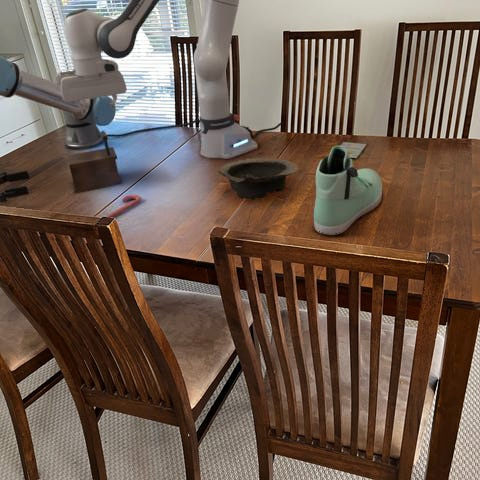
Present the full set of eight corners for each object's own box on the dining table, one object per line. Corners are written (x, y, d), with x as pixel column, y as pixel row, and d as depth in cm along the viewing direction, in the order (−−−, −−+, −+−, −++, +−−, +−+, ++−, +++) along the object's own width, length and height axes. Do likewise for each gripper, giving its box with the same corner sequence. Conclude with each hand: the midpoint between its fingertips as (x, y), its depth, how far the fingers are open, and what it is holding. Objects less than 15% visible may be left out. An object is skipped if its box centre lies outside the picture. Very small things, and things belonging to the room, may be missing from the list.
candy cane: (96, 216, 146) (95, 211, 145) (131, 196, 156) (131, 192, 155) (109, 220, 143) (108, 216, 142) (145, 200, 153) (144, 196, 152)
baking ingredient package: (332, 154, 173) (343, 141, 184) (332, 155, 173) (343, 142, 184) (356, 157, 169) (366, 143, 180) (356, 158, 169) (366, 144, 181)
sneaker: (389, 187, 148) (396, 123, 138) (356, 242, 123) (361, 168, 112) (346, 181, 154) (350, 119, 144) (306, 232, 129) (307, 161, 118)
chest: (116, 173, 173) (111, 150, 169) (120, 183, 166) (115, 159, 161) (74, 182, 169) (68, 158, 165) (76, 192, 162) (69, 168, 157)
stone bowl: (243, 213, 140) (240, 183, 136) (209, 189, 160) (205, 162, 156) (313, 190, 149) (312, 161, 144) (272, 170, 169) (270, 144, 165)
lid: (113, 150, 169) (108, 128, 165) (117, 159, 161) (112, 136, 157) (68, 158, 165) (61, 136, 161) (69, 168, 157) (63, 145, 153)
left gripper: (-34, 191, 165) (31, 178, 171) (-43, 222, 145) (30, 207, 151) (-42, 170, 161) (25, 158, 167) (-53, 200, 141) (23, 185, 147)
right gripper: (54, 73, 144) (66, 119, 151) (122, 64, 149) (131, 108, 157) (54, 70, 149) (65, 114, 156) (119, 60, 155) (127, 103, 162)
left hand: (28, 181), depth 159 cm, fingers open, 13 cm apart
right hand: (98, 111), depth 156 cm, fingers open, 8 cm apart
